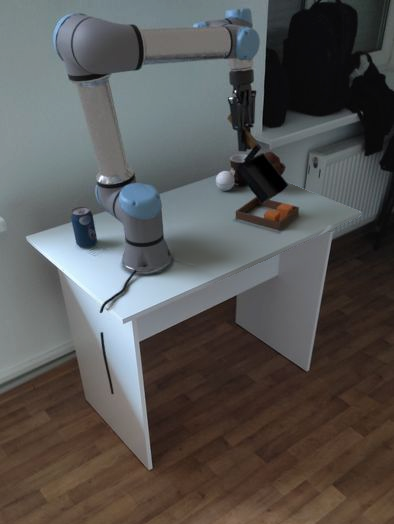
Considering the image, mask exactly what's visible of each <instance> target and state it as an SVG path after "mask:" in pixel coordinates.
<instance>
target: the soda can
mask: <svg viewBox="0 0 394 524" xmlns="http://www.w3.org/2000/svg"><path fill="white" fill-rule="evenodd" d="M70 221H71V225H72V230H73V234H74V239H75V243H76V245H77V246H78V247H79V248H81V249H87V250H88V249H91V248H93V247H95V246H96V244H97V242H98V236H97V231H96V227H95V225H96V224H95V219H94V214H93V213H92V211H91V209H90V208H89V207H86V206H78V207H75V208H73V209H72V210H71V215H70Z"/></svg>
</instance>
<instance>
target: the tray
mask: <svg viewBox="0 0 394 524" xmlns="http://www.w3.org/2000/svg"><path fill="white" fill-rule="evenodd" d="M282 203H283V202H280V201H276V200H272V199H269V200H267V201H266V202H264V203H263V204H262V203H261V201H260V200H259V199H258V198H257V196H255V197H253V198H252V199H251V200H249V201H248V202H246V203H245V204H244V205H243V206H240V207H239V208H238V209H237V210H235V220H239V221H242V222H247V223H250V224H253V225H257V226H260V227H264V228H268V229H271V230H275V231H278V232H280V230H282V229H283V228H285V226H286V225H288V224H289V223H290V222H291V221H292V220H294V219H296V217H297V216H299V211H300V207H299V206H296V205H293V211H292V212H291V213H289V214H288V215H287V216H286V217H284V218H283V219H280V222H277V221H273V220H269V219H265V218H264V217H261V216H257V215H255V214H250V213H247V212H248V211H250V210H251V209H253V208H254V207H255V206H259V207H264V208H268V209H270V210H275V211H277V207H278V206H280V205H281V204H282Z"/></svg>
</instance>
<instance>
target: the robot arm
mask: <svg viewBox="0 0 394 524" xmlns="http://www.w3.org/2000/svg"><path fill="white" fill-rule="evenodd" d="M253 26H254V25H253V16H252V11H251V9H250V8H249V7H243V8H233V9H228V10H226V11H225V18H223V19H222V18H221V19H214V20H206V21H205V20H203V21H200V22H196V23H194V24H193V25H192V26H191V27H168V28H167V27H165V28H140V27H139V26H138V25H137V24H135V23H134V24H130V23H129V24H125V23H118V22H113V21H109V20H106V19H103V18H99V17H94V16H90V15H87V14H85V13H81V12H79V13H78V12H77V13H69V14H66V15H65V16H63V17H61V18H60V19H59V21H58V22H57V23H56V26H55V28H54V31H53V37H52V40H53V46H54V50H55V52H56V54H57V55H58V57H59V58H60V61H62V62H63V63H64V67H65V70H66V74H67V77H68V80H69V82H71V83H72V84H74V85H75V86H76V88H77V93H78V96H79V100H80V103H81V107H82V111H83V115H84V119H85V123H86V126H87V131H88V135H89V137H90V142H91V145H92V149H93V153H94V156H95V161H96V165H97V168H98V173H97V174H96V175H95V181H96V185H95V189H94V190H95V191H94V192H95V198H96V201H97V202H98V204H99V206H100V207H101V208H102V209H103V210H104V211H105V212H106V213H108V214H110V215H111V216H112V217H113V218H115V219H116V221H118V222H119V223H121V224H122V226H123V232H124V239H125V244H124V250H123V254H122V257H121V261H122V266H123V268H124V270H125V271H127V272H128V273H131V274H130V275H129V277H127V279H126V280H125V282H124V285H123V287H122V289H121V290H119V291H118V292H117V293H115V294H113V295H112V296H110V298H108V299H106V300H105V301H103V303H102V304H101V307H100V310H99V314H102V313H103V312H104V309H105V307H106V305H108V304H109V303H110V302H112V301H113V300H115V299H116V298H118V297H119V296H121V295H122V294H123V293H124V292H125V291H126V289H127V287H128V284H129V283H130V281H131V280H132V278H133V277H134V276H135V275H138V276H152V275H156V274H159V273H162V272H164V271H165V270H167V269H168V268H170V266H171V264H172V261H173V259H172V258H173V257H172V251H171V249H170V248H169V246H168V244H167V242H166V239H165V234H164V223H163V222H164V221H163V211H162V207H163V204H162V199H161V195H160V192H159V191H158V189H157V188H156V187H155V186H153V185H151V184H149V183H145V184H144V183H143V182H137V179H136V174H135V170H134V168H133V167H132V166H129V165H128V161H127V157H126V152H125V148H124V144H123V139H122V134H121V129H120V126H119V121H118V116H117V112H116V106H115V103H114V98H113V93H112V88H111V84H110V78H111V76H112V74H118V73H127V72H133V71H134V72H136V71H140V70H141V69H142V68H143V66H151V65H162V64H163V65H164V64H165V65H166V64H175V63H189V62H201V61H202V62H203V61H215V60H216V61H217V60H227V62H228V63H227V64H228V65H227V66H228V70H230V71H229V72H228V78H229V79H228V80H229V85H230V86H232V92H231V94H232V95H230V96H228V97H227V102H228V105H229V111H230V114H231V120H232V124H231V126H232V127H231V128H232V129H233V131H236V133H237V134H236V135H237V147H238V150H237V151H238V152H245V153H246V152H247V150H248V151H249V150H250V151H251V150H252V149H251V148H250V146H249V145H248V144H247V143H246V130H244V126H245V127H246V128H247V130H248V131H249V132H250V133H251V134H252V131H251V128H254V126H255V125H254V124H255V120H256V97H257V93H258V92H257V90H255V89H253V87H252V84H253V83H254V82H255V71H254V69H253V68H254V58H255V57H256V56H257V54H258V52H259V50H260V45H261V43H260V42H261V39H260V36H259V33H258V32H257V30H256V29H254V28H253ZM99 335H100V343H101V351H102V357H103V361H104V365H105V366H104V367H105V370H106V374H107V379H108V383H109V390H110V394H111V395H114V393H115V392H114V387H113V382H112V378H111V377H112V376H111V372H110V367H109V363H108V358H107V353H106V346H105V338H104V337H105V336H104V332H103V331H101V332H100V334H99Z"/></svg>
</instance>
